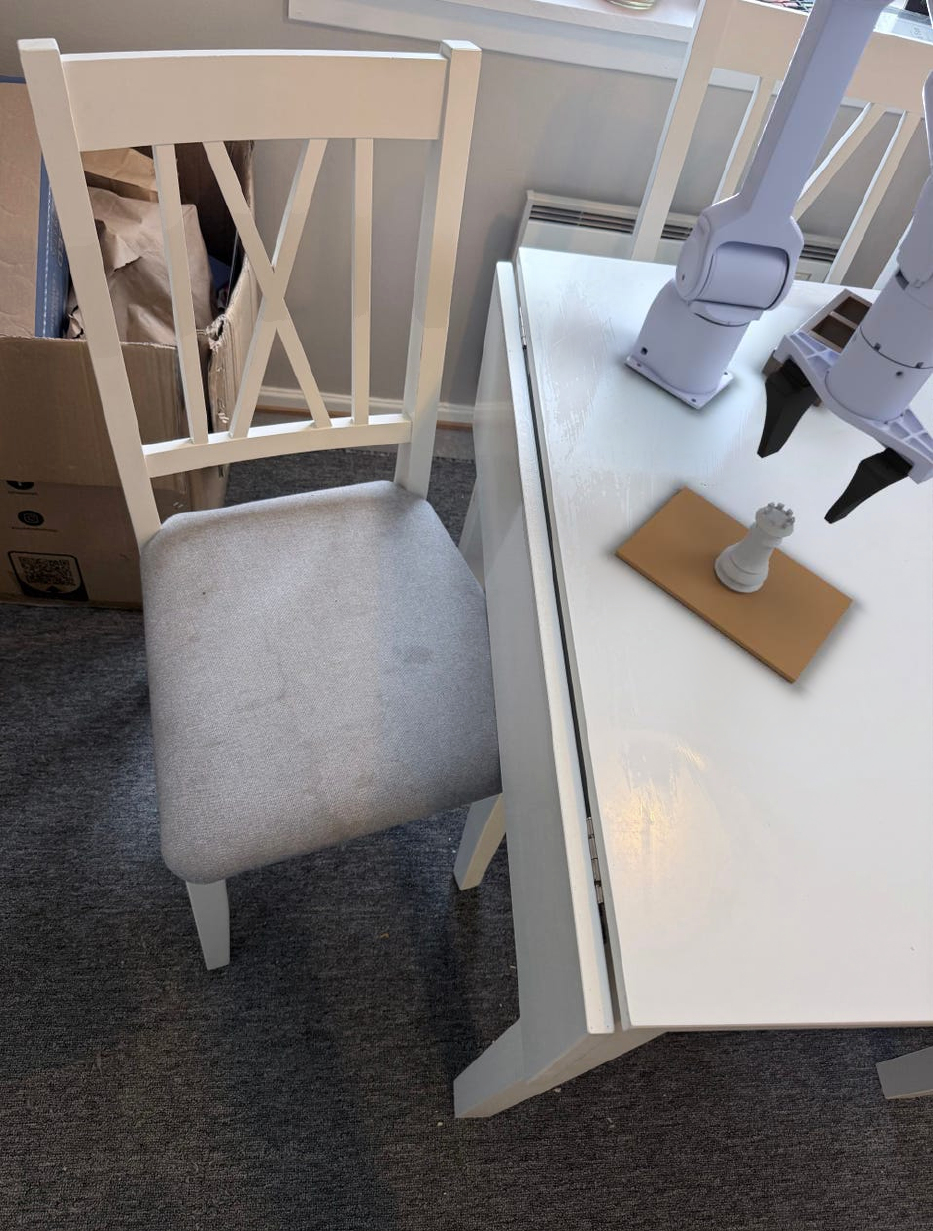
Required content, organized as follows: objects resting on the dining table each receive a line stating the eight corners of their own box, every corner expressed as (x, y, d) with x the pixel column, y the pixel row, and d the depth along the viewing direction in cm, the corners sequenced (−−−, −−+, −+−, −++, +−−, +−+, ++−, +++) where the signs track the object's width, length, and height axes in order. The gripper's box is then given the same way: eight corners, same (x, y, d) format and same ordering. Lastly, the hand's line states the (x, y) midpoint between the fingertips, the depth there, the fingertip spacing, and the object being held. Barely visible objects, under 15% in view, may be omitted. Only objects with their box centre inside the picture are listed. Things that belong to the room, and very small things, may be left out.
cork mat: (615, 554, 73) (616, 550, 73) (683, 489, 79) (685, 485, 79) (792, 683, 68) (795, 680, 68) (850, 603, 75) (853, 599, 74)
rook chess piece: (752, 604, 72) (798, 544, 65) (705, 578, 72) (746, 516, 66) (767, 572, 74) (813, 511, 68) (722, 547, 75) (763, 485, 69)
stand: (761, 371, 93) (773, 349, 91) (831, 309, 103) (844, 287, 101) (818, 407, 91) (832, 385, 89) (884, 339, 101) (898, 318, 99)
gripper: (1021, 395, 55) (899, 531, 65) (858, 268, 61) (771, 413, 71) (960, 422, 51) (842, 561, 62) (794, 286, 57) (713, 435, 68)
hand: (800, 484), depth 67 cm, fingers open, 7 cm apart
